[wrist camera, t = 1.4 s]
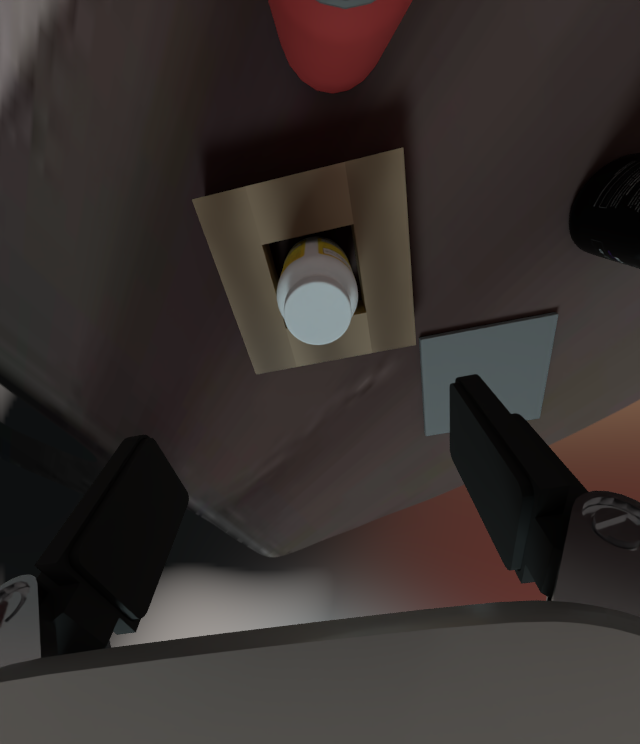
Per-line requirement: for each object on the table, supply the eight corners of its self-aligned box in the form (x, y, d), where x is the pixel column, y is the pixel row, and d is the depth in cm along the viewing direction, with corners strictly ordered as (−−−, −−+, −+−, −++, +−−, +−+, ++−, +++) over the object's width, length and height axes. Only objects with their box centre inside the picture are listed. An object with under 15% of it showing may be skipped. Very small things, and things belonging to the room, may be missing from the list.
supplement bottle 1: (289, 304, 29) (277, 359, 20) (279, 238, 26) (262, 271, 18) (350, 298, 29) (364, 351, 20) (348, 232, 26) (363, 262, 17)
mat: (554, 312, 29) (558, 314, 29) (537, 415, 36) (539, 418, 35) (419, 337, 31) (420, 339, 30) (424, 432, 37) (425, 435, 36)
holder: (393, 149, 23) (403, 147, 20) (407, 329, 30) (416, 344, 28) (204, 196, 24) (191, 199, 22) (261, 357, 32) (256, 374, 29)
